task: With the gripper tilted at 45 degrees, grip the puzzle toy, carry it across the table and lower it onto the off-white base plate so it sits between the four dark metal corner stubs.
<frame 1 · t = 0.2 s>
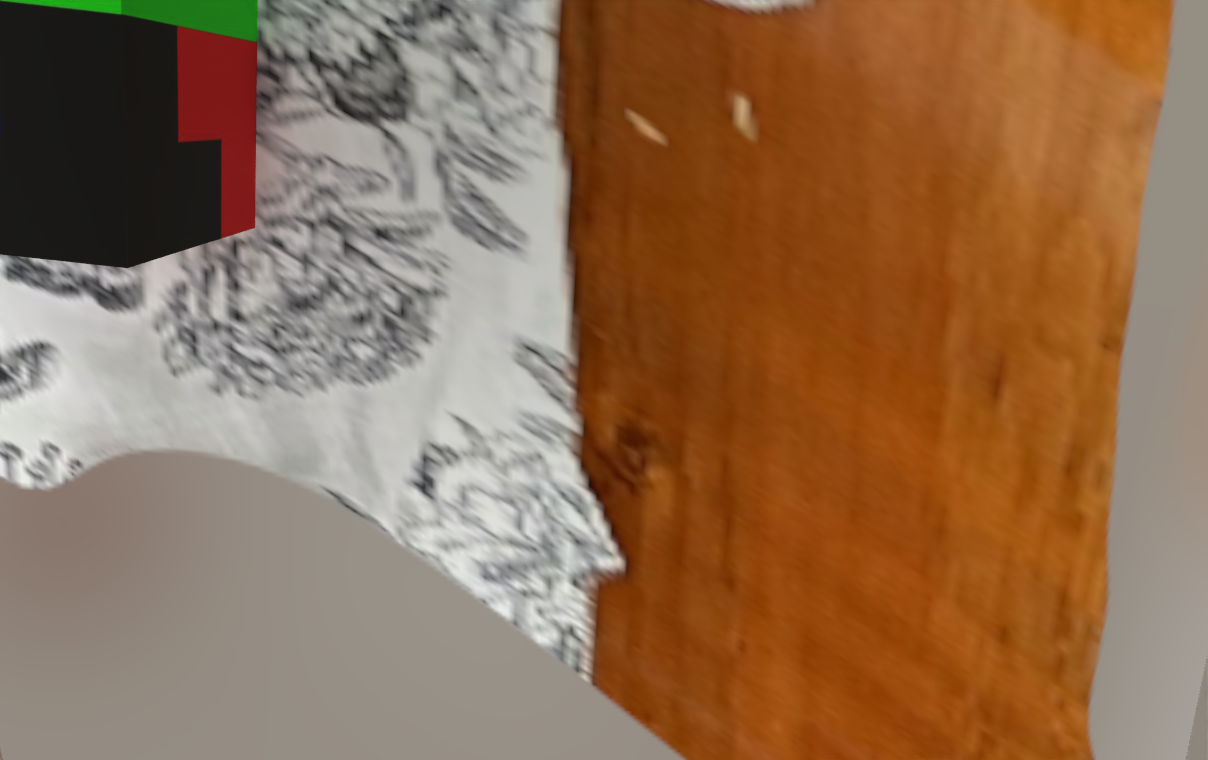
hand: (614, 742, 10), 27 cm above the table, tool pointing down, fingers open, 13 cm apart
puzzle toy: (122, 75, 35), on the table
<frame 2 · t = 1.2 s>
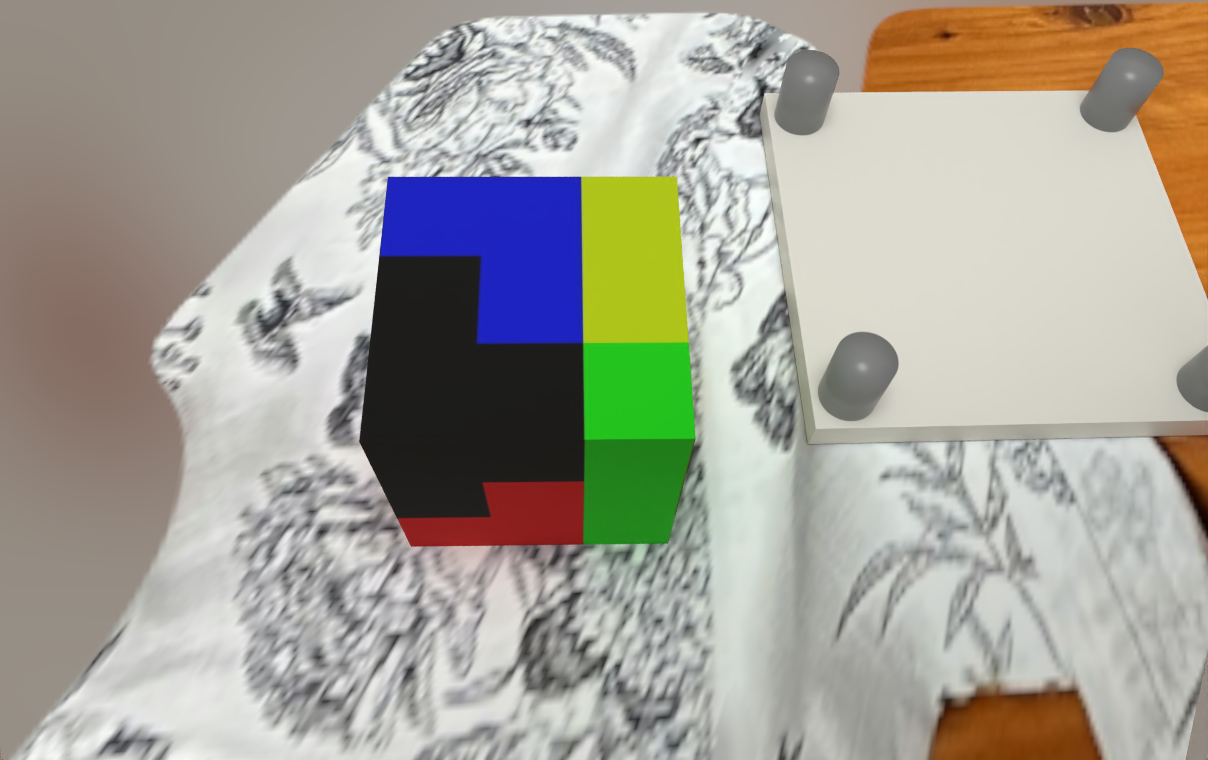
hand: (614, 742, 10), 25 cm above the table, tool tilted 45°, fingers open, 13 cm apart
stub base: (975, 260, 44), on the table
puzzle toy: (541, 431, 40), on the table
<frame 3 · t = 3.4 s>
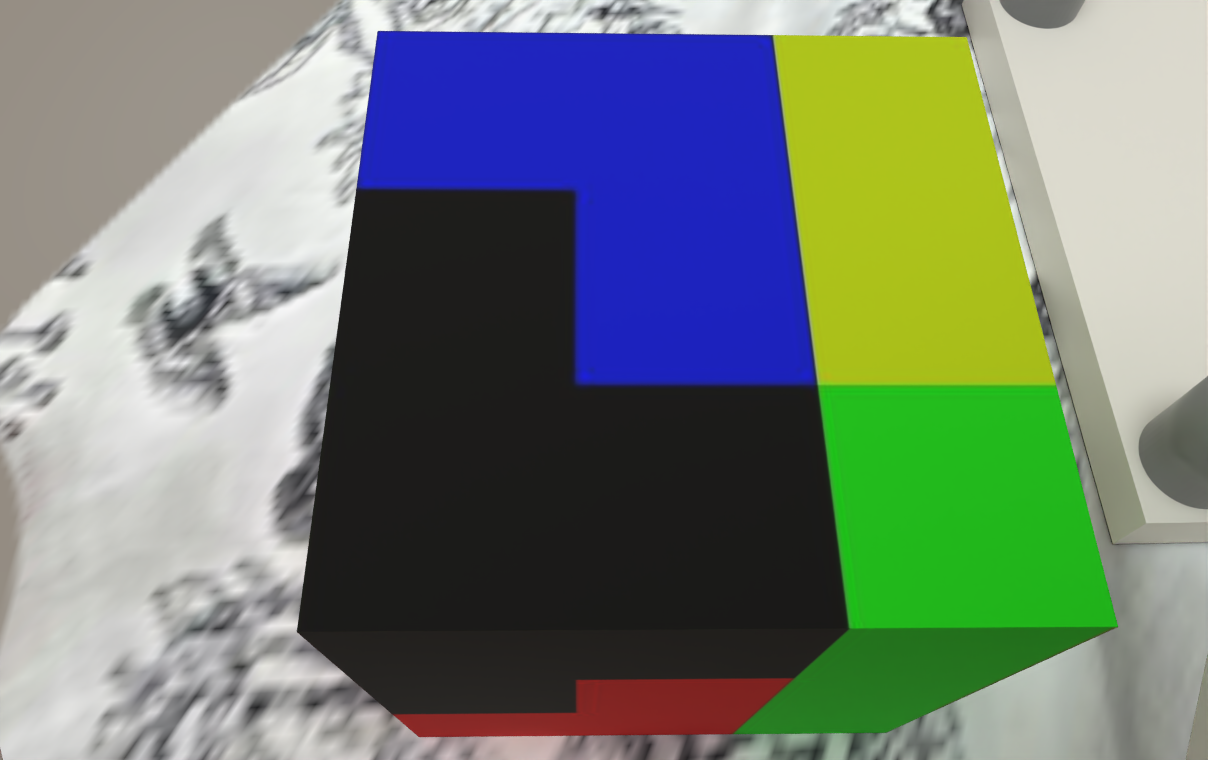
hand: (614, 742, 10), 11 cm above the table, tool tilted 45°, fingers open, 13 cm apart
puzzle toy: (645, 515, 23), on the table
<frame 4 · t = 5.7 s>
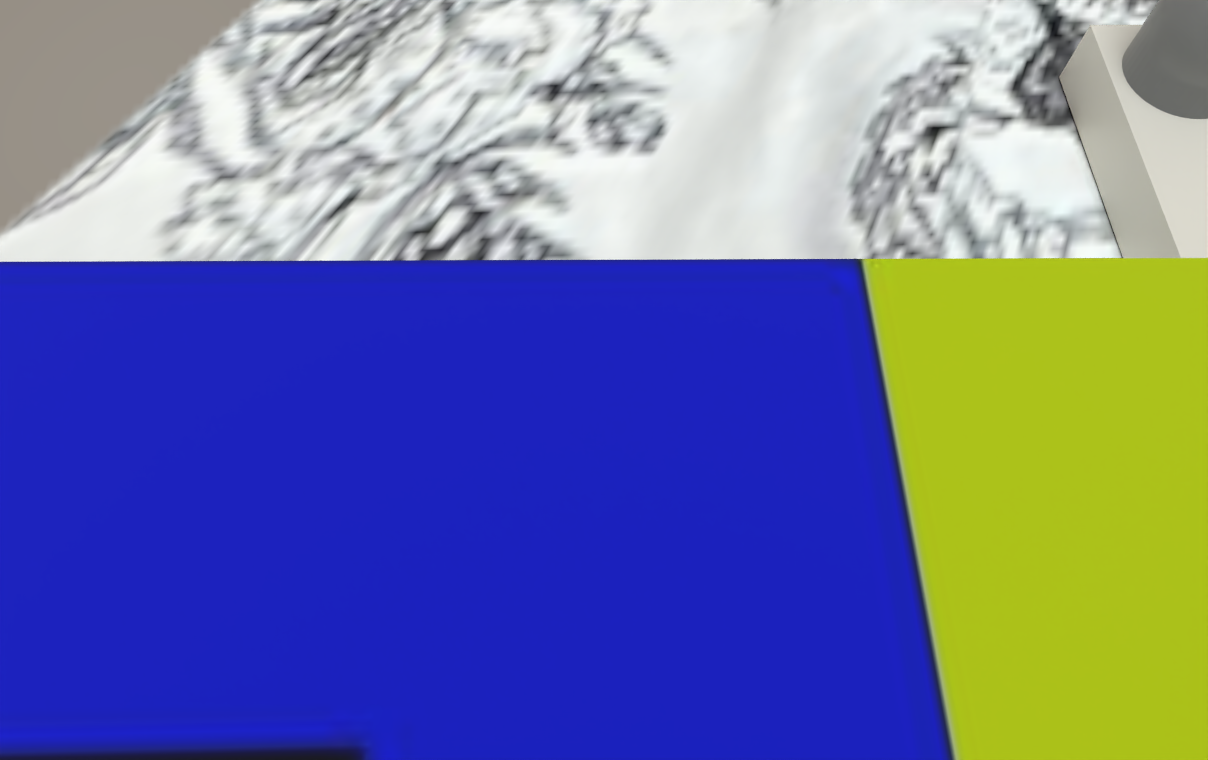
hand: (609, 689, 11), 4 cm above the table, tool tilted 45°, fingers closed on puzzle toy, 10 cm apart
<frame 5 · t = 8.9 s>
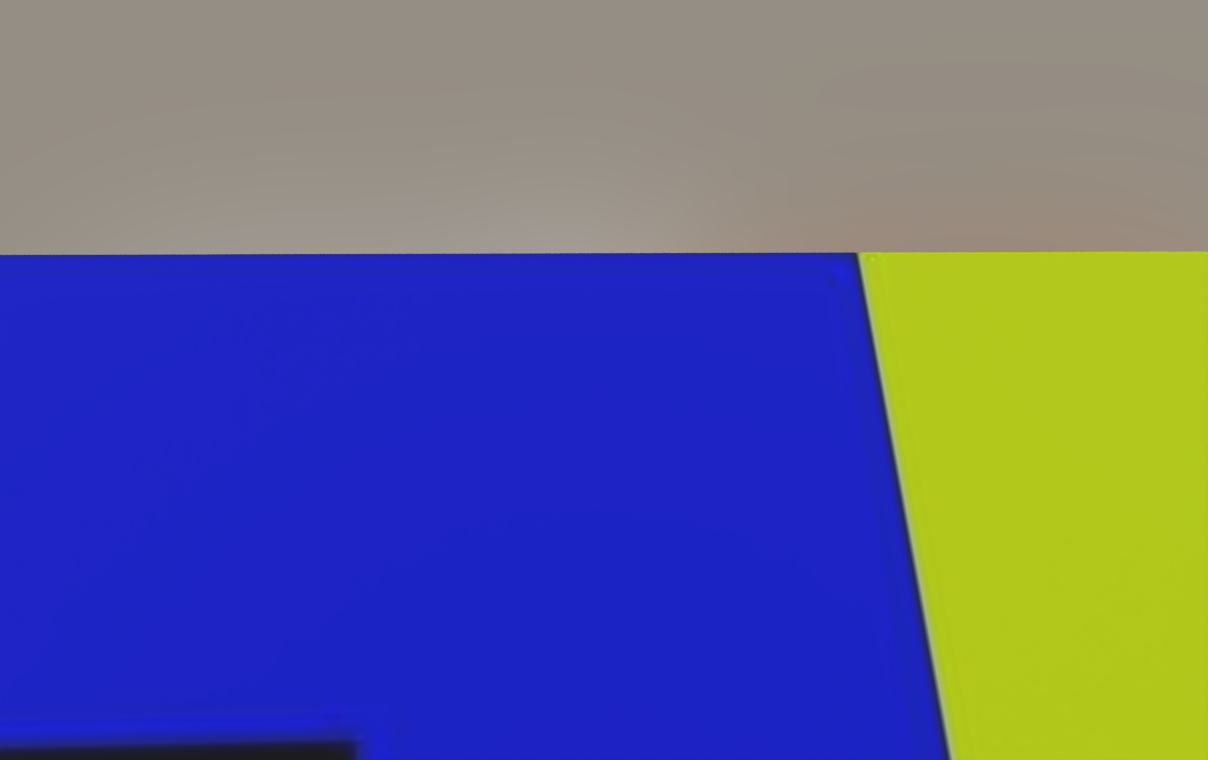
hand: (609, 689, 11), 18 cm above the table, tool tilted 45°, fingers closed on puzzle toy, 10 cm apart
when the fingers open (7 cm above the table, at t = 12.3 s): puzzle toy drops 1 cm, resting on stub base.
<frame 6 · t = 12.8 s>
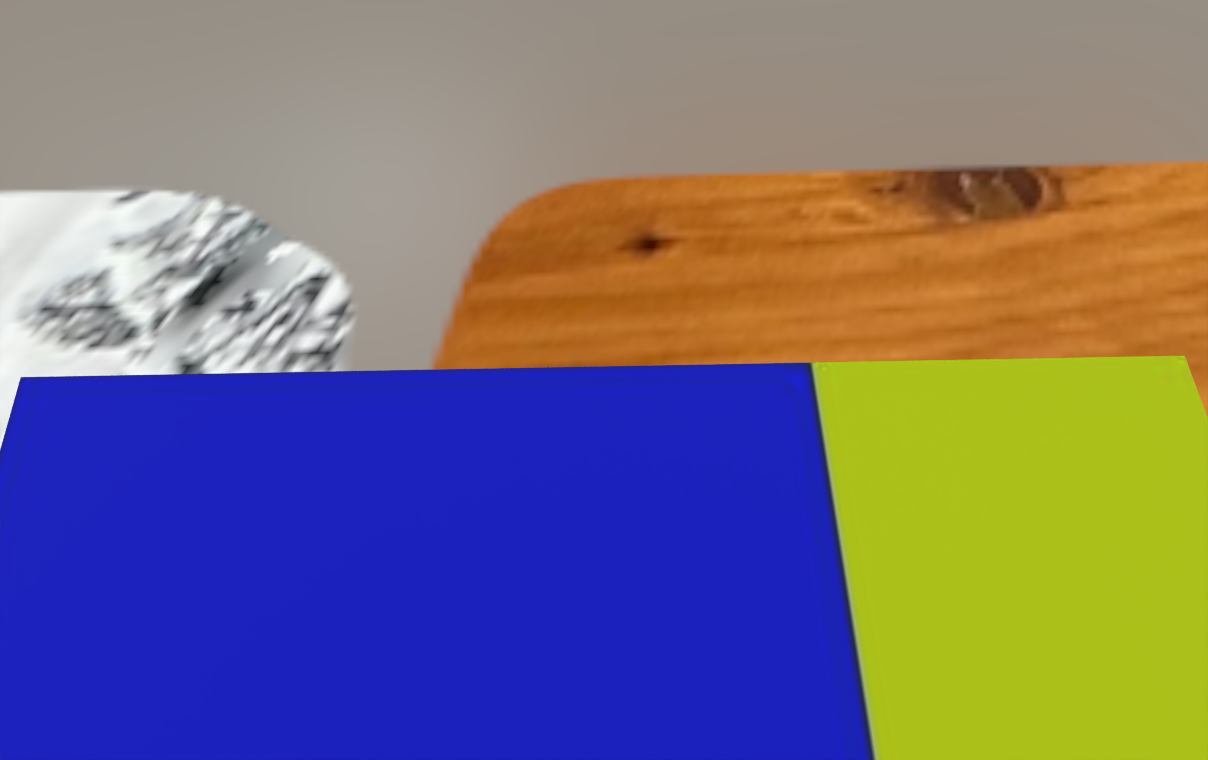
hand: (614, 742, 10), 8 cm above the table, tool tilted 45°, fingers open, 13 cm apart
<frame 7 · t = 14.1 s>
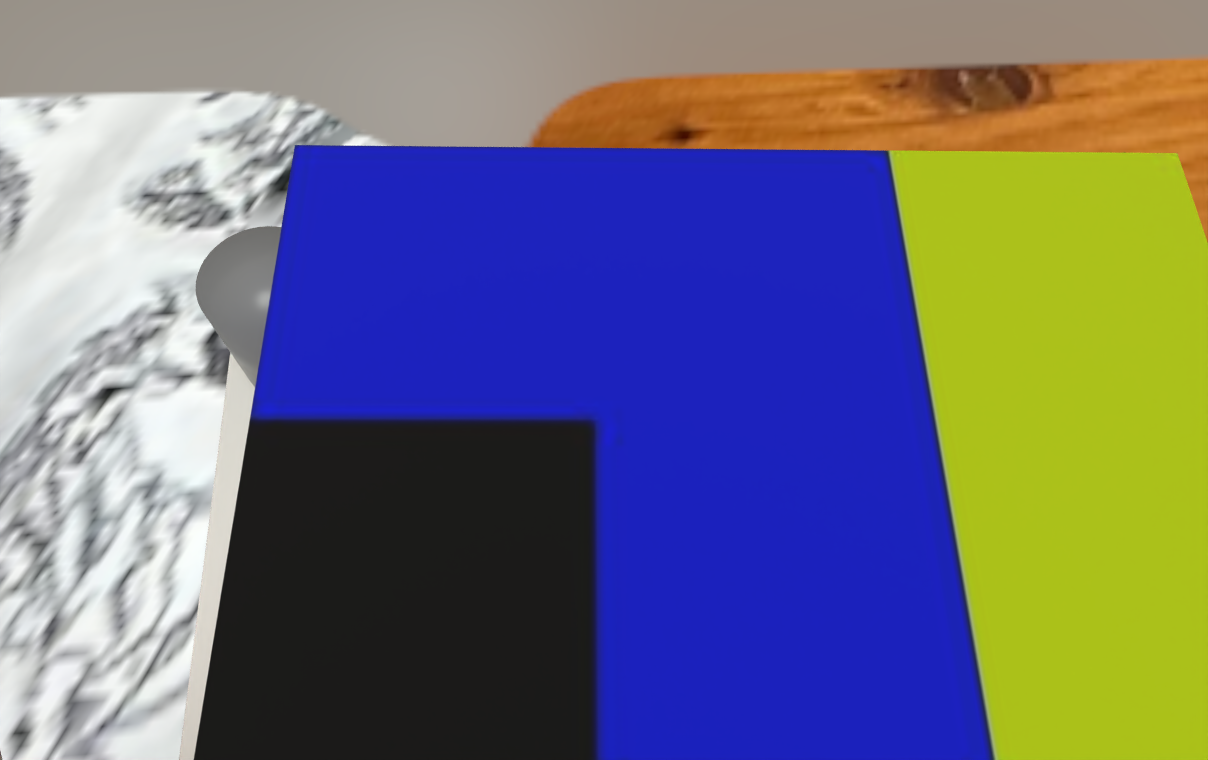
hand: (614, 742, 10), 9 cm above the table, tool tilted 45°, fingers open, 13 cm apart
stub base: (668, 705, 19), on the table
puzzle toy: (676, 719, 18), point 1 cm above the table, touching gripper, stub base
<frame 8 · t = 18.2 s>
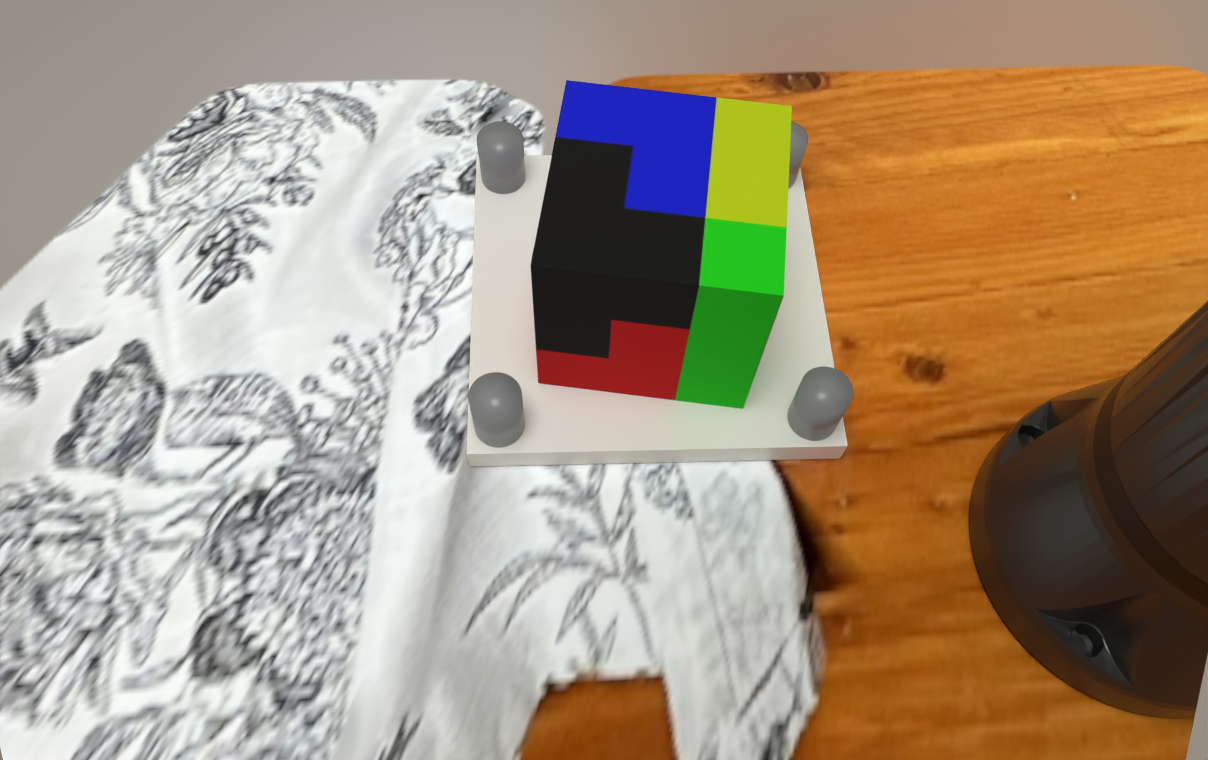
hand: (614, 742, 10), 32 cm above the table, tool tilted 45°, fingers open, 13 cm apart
stub base: (645, 305, 51), on the table
puzzle toy: (650, 311, 49), point 1 cm above the table, touching stub base
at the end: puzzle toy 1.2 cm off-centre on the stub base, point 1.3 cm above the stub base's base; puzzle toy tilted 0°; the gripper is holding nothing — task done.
